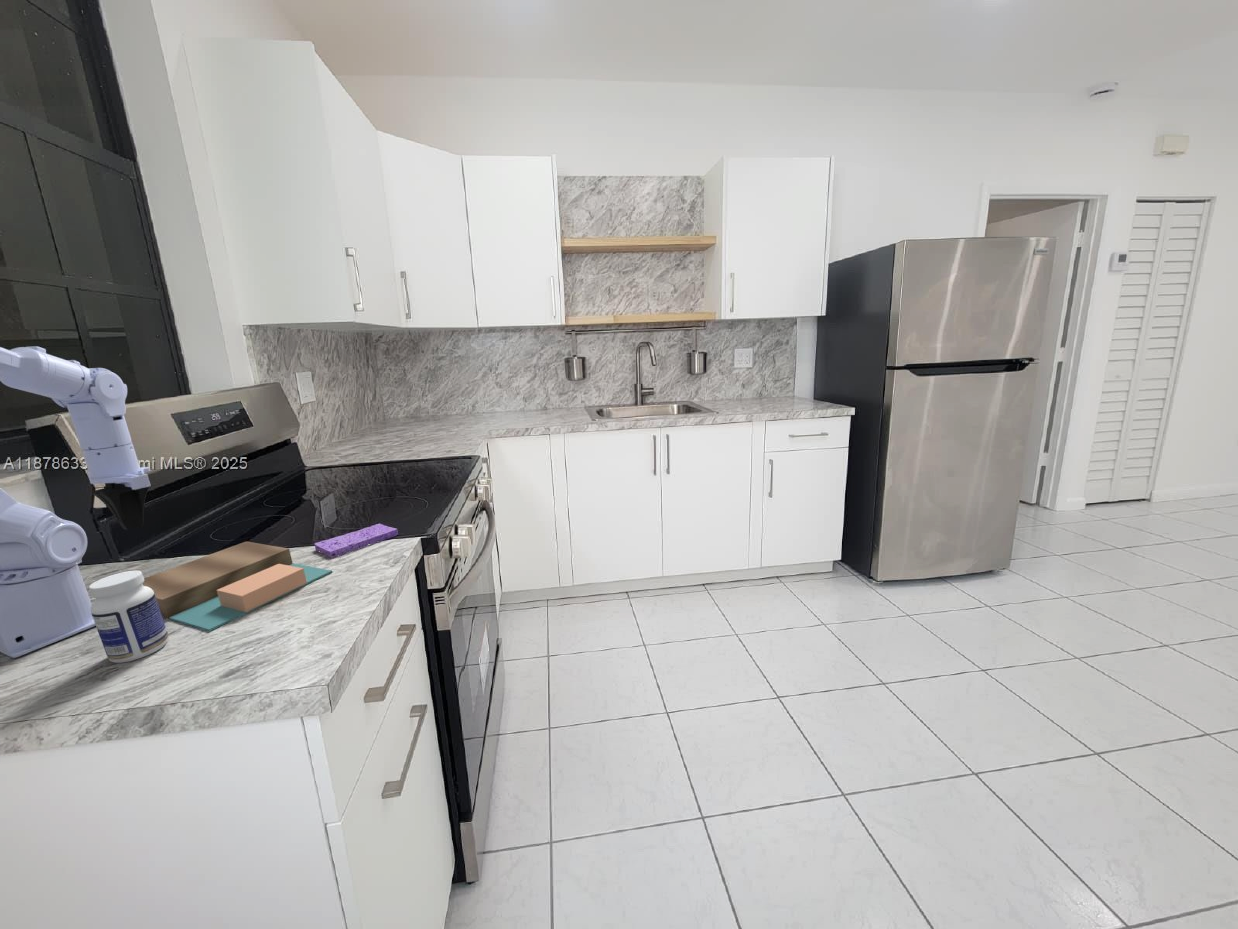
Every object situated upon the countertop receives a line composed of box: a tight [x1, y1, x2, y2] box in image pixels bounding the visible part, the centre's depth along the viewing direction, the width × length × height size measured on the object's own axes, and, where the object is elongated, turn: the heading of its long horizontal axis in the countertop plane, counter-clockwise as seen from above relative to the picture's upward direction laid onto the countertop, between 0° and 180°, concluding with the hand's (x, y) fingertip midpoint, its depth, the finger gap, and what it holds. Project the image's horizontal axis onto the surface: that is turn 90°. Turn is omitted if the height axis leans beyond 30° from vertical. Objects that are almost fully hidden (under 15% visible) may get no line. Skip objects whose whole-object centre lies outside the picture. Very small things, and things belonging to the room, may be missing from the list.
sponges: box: [314, 523, 399, 559], centre depth 95 cm, size 7×13×2 cm, turn 141°
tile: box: [217, 564, 307, 612], centre depth 75 cm, size 9×6×2 cm, turn 156°
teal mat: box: [168, 562, 333, 632], centre depth 76 cm, size 18×10×1 cm, turn 156°
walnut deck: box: [143, 541, 293, 620], centre depth 81 cm, size 18×12×3 cm, turn 156°
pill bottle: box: [88, 570, 170, 664], centre depth 62 cm, size 6×6×10 cm
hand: (133, 527), depth 82 cm, fingers closed
